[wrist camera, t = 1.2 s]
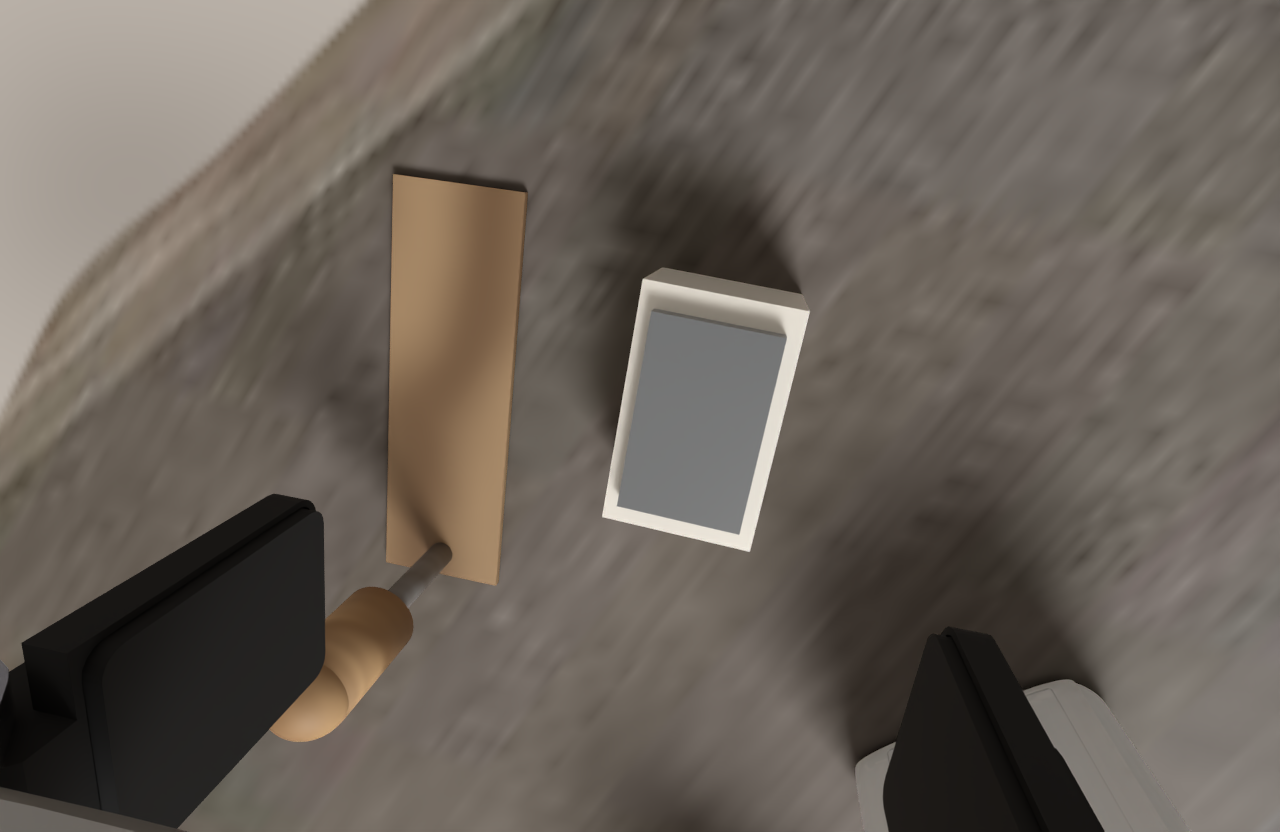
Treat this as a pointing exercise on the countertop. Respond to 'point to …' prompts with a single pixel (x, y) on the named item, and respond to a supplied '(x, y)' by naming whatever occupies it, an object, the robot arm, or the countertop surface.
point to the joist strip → (452, 369)
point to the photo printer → (1093, 751)
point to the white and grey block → (703, 405)
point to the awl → (359, 649)
